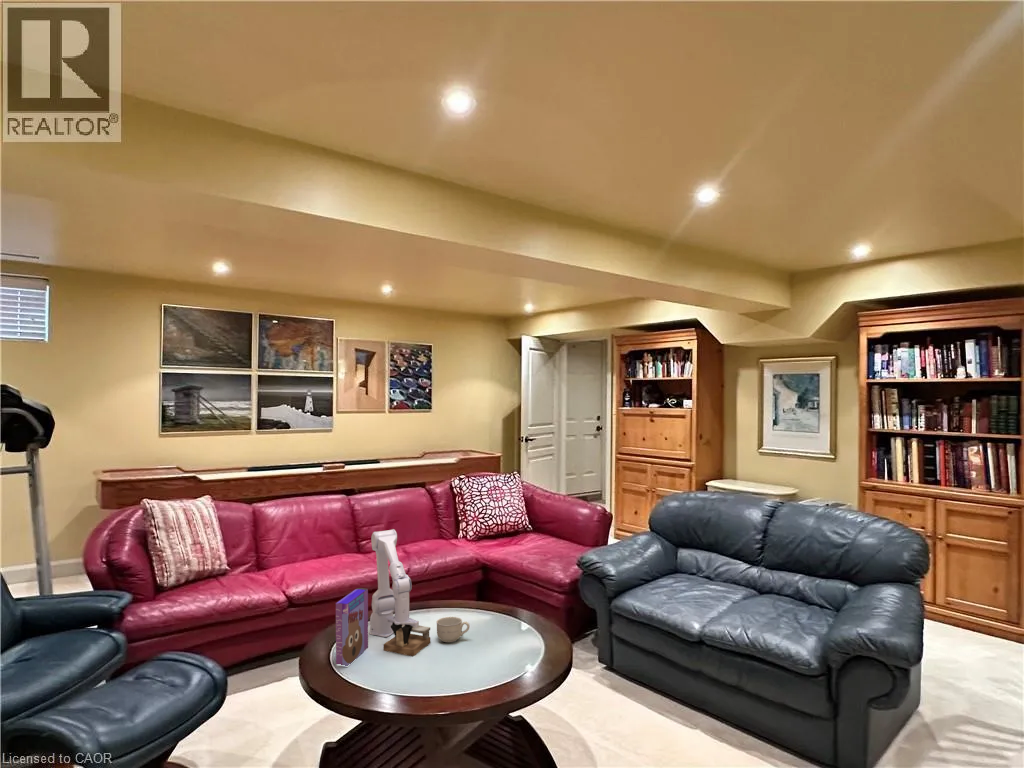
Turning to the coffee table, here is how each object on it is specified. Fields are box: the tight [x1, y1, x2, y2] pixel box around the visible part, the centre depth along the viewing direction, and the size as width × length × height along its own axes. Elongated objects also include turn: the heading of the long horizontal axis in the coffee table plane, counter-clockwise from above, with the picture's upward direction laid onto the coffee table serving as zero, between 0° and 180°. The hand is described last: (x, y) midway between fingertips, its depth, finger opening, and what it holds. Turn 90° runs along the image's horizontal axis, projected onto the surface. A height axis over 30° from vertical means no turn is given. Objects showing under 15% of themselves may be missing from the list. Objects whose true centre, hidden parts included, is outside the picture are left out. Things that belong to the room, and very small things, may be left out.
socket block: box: [382, 624, 431, 657], centre depth 235 cm, size 14×13×6 cm
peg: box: [396, 628, 407, 647], centre depth 231 cm, size 3×3×8 cm
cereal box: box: [335, 587, 369, 666], centre depth 227 cm, size 17×5×24 cm, turn 168°
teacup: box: [436, 616, 470, 643], centre depth 241 cm, size 14×11×8 cm
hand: (402, 642), depth 231 cm, fingers closed on peg, 3 cm apart
